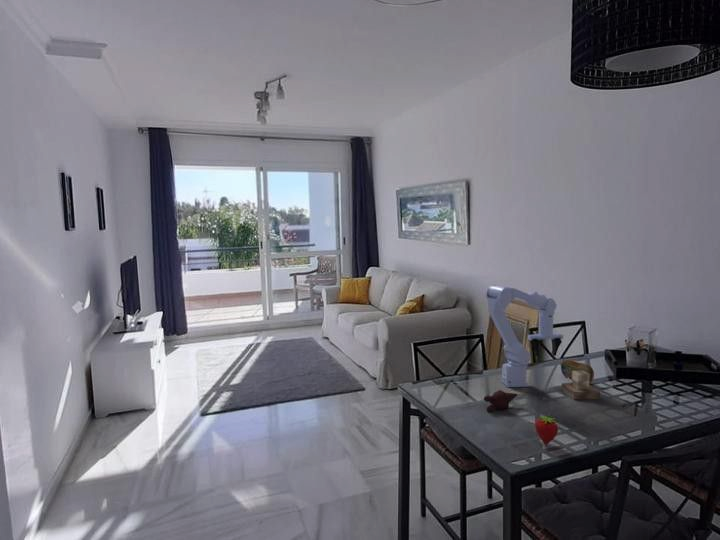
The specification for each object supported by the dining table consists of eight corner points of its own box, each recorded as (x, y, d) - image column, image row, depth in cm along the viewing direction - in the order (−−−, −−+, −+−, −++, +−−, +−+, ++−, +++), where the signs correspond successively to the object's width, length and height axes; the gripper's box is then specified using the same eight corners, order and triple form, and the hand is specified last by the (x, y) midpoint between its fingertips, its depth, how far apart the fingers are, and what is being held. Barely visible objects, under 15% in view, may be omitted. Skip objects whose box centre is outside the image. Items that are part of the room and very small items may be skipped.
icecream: (508, 384, 179) (477, 394, 173) (521, 385, 172) (489, 396, 166) (512, 402, 178) (481, 413, 172) (526, 404, 171) (494, 415, 165)
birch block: (577, 389, 181) (578, 374, 181) (571, 385, 186) (572, 370, 185) (589, 389, 181) (589, 374, 181) (582, 385, 186) (583, 370, 185)
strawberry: (544, 437, 149) (545, 406, 148) (562, 447, 142) (563, 415, 141) (529, 440, 147) (530, 409, 146) (547, 451, 140) (547, 419, 139)
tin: (560, 376, 206) (560, 357, 205) (565, 375, 208) (565, 356, 207) (589, 386, 193) (590, 366, 192) (595, 385, 194) (595, 365, 193)
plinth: (573, 399, 179) (574, 392, 179) (561, 390, 189) (561, 383, 188) (599, 398, 179) (599, 391, 179) (585, 389, 189) (586, 382, 189)
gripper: (533, 327, 196) (532, 358, 197) (566, 326, 197) (566, 357, 198) (526, 323, 203) (526, 354, 204) (559, 322, 204) (558, 352, 205)
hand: (545, 355), depth 202 cm, fingers open, 7 cm apart
